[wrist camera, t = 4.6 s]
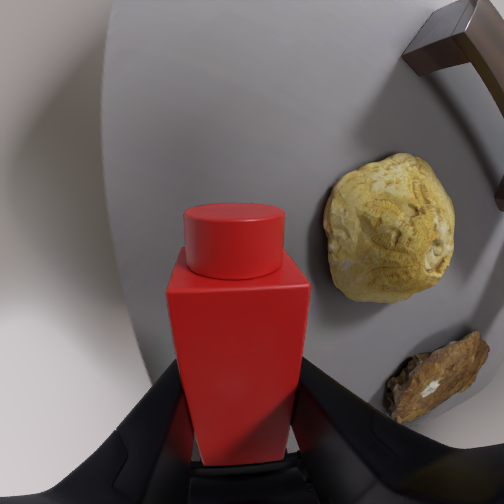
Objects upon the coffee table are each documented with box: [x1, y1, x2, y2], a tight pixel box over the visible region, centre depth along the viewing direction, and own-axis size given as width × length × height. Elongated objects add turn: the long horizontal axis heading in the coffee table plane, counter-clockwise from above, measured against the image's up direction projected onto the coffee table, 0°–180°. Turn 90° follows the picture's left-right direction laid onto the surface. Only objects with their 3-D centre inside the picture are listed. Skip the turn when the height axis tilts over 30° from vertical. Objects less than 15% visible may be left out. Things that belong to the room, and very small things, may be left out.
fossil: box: [323, 153, 455, 303], centre depth 15 cm, size 11×6×10 cm
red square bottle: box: [165, 203, 311, 466], centre depth 7 cm, size 8×3×3 cm, turn 0°
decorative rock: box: [386, 330, 490, 424], centre depth 21 cm, size 11×4×15 cm
